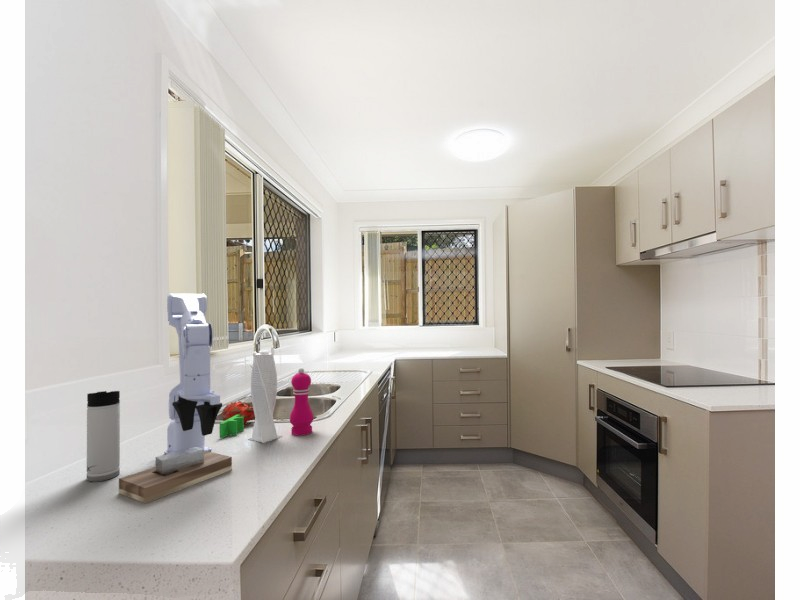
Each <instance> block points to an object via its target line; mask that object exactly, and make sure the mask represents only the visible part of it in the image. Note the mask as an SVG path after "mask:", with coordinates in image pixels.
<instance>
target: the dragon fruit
mask: <svg viewBox="0 0 800 600" xmlns="http://www.w3.org/2000/svg"><path fill="white" fill-rule="evenodd" d="M221 415H222V422H224V421H225V420H227V419H229V418H231V417H233V416H235V415H240V417H244V426H248V425H250V424H252V423H251V422H249V421H253V420H254V421H255V414H254V410H253V406H252V407H251V405H250V404H249V403H246V402H245V401H243V402H242V401H241V400H240V401H238V402H237V401H232V402H230V403H228V404H226V406H225V407H224V408H223V410H222V411H221Z"/></svg>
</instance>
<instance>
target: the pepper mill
mask: <svg viewBox="0 0 800 600" xmlns="http://www.w3.org/2000/svg"><path fill="white" fill-rule="evenodd" d="M297 371H298V373H296V374H294V375H293V376H292V377H291V382H290V383H291V386H292V388H293V392H292V393H293V395H294V404H293V407H292V410H291V412H290V414H289V415H290V416H289V422H290V424H291V435H292V436H307V435H309V434H312V433H313V426H312V425H311V424H312V423H313V421H314V412H313V410H312V408H311V406H310V403H309V394H310V386H311V384H312V378H311V376H310V375H309V374H308V373H305V370H304V368H303V367H300V368H298V370H297Z"/></svg>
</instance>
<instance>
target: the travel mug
mask: <svg viewBox="0 0 800 600" xmlns="http://www.w3.org/2000/svg"><path fill="white" fill-rule="evenodd" d="M86 395H87V397H86V399H87V404H86V481H88V482H91V481H92V482H95V483H97V482H103V481H107V480H111V479H113V478H116V477H117V476H119V474H120V472H121V471H120V468H121V467H120V466H121V465H120V463H121V462H120V459H121V456H120V454H121V451H120V450H121V446H120V445H121V444H120V443H121V441H120V440H121V430H120V429H121V415H120V414H121V405H120V404H121V399H120V396H121V394H120V390H113V391H111V390H110V391H109V392H108V391H107V390H105V391H104V390H103V391H97V392H90V393H86Z"/></svg>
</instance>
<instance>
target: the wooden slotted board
mask: <svg viewBox="0 0 800 600" xmlns="http://www.w3.org/2000/svg"><path fill="white" fill-rule="evenodd" d="M232 464H233V458H232V456H228V455H225V454H220V453H216V452H213V451H204V463H201V464H199V465H196V466H193V467H187V468H184V469H180V470H177V471H173V474H170V475H167V476H162V475H159V473H158V472H156V466H154V467H150V468H148V469H144V470H141V471H138V472H136V473H135V472H134V473H132V474H129V475H126V476H123V477H120V478H118V494H120V495H122V496H124V497H128V498H129V499H130V498H131V499H133V500H136V501H138V502H139V503H140V502H141V503H143V504H149V503H150V502H153V501H155V500H157V499H161V498H163V497H165V496H168V495H171V494H173V493H175V492H179V491H181V490H183V488H184V489H186V488H189V487H191V486H194V485H196V484H199V483H201V482H203V481H206V480H209V479H211V478H214V477H216V476H219V475H221V474H224V473H227V472H230V471H232V470H233V469H232V467H233V465H232ZM188 486H189V487H188ZM180 489H181V490H180ZM178 490H179V491H178Z"/></svg>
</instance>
